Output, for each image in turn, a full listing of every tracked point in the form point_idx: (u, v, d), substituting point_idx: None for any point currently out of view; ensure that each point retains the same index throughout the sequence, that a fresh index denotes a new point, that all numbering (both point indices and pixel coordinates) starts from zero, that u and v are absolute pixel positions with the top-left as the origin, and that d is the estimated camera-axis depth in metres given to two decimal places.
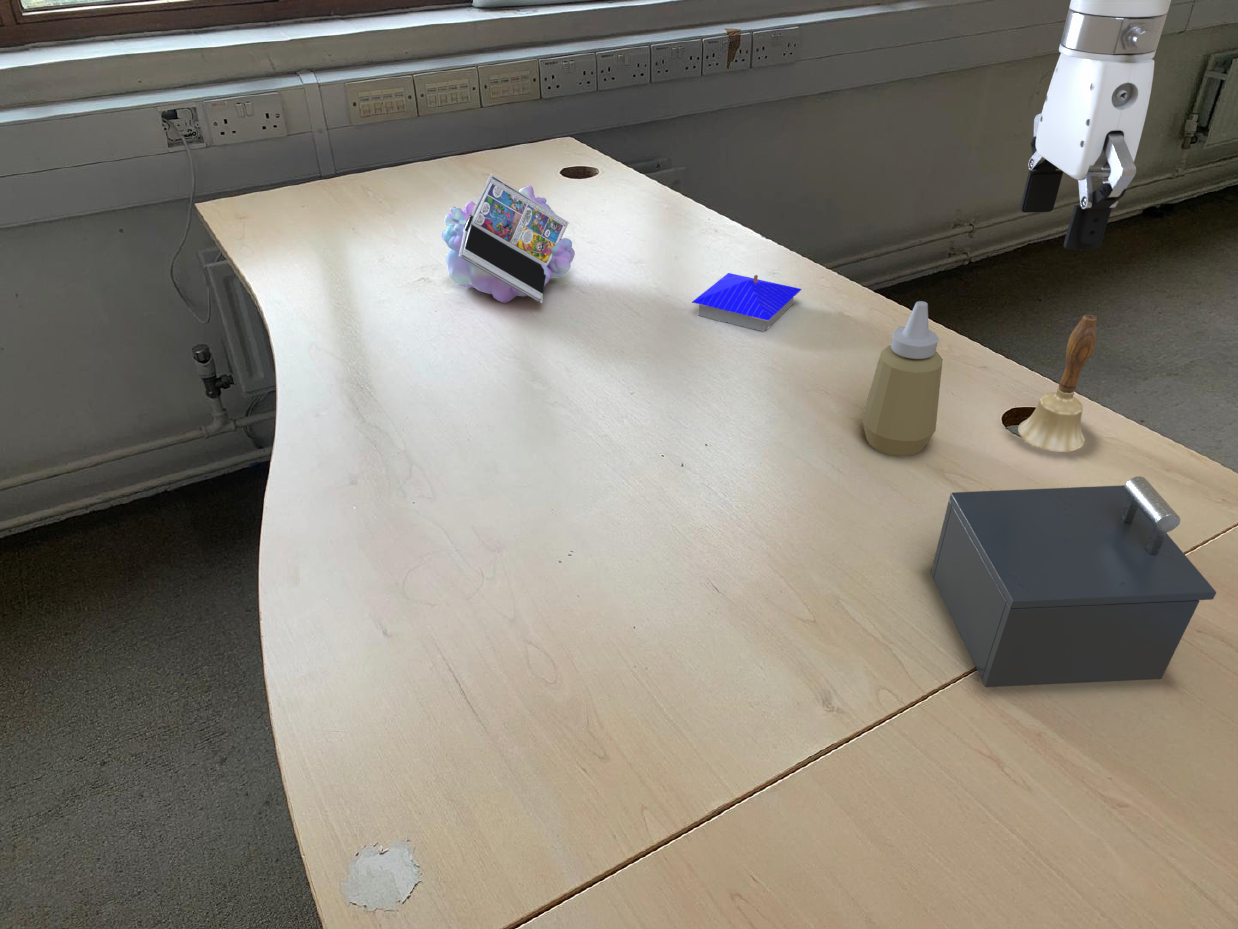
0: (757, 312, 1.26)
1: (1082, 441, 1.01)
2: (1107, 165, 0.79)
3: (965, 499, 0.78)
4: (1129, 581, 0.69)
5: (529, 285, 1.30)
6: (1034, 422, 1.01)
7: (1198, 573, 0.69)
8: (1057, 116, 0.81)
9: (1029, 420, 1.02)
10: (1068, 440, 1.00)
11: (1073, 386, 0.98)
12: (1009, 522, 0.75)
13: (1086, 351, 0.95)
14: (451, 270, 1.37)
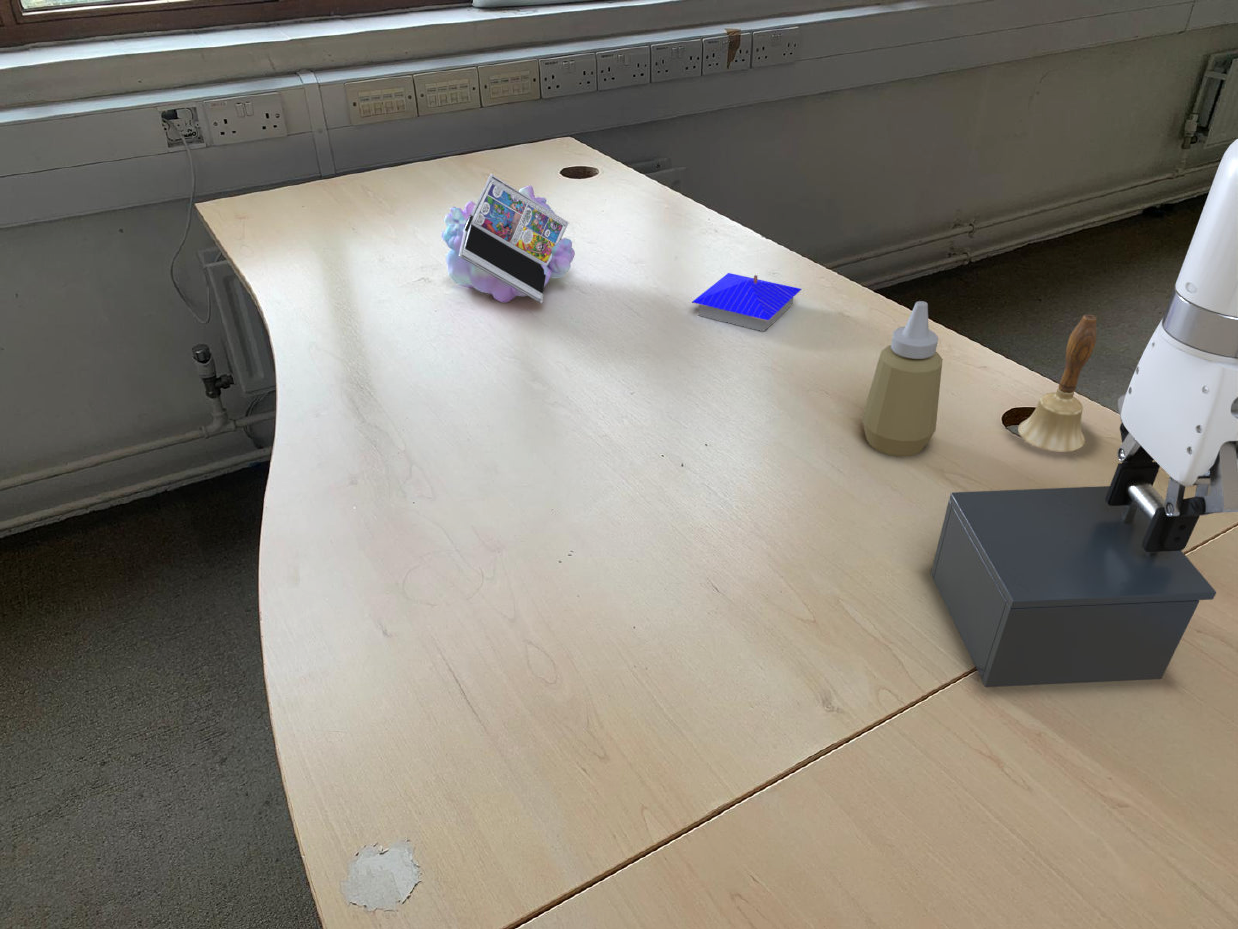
0: (757, 312, 1.26)
1: (1082, 441, 1.01)
2: None
3: (965, 499, 0.78)
4: (1129, 581, 0.69)
5: (529, 285, 1.30)
6: (1034, 422, 1.01)
7: (1198, 573, 0.69)
8: (1154, 401, 0.67)
9: (1029, 420, 1.02)
10: (1068, 440, 1.00)
11: (1073, 386, 0.98)
12: (1009, 522, 0.75)
13: (1086, 351, 0.95)
14: (451, 270, 1.37)
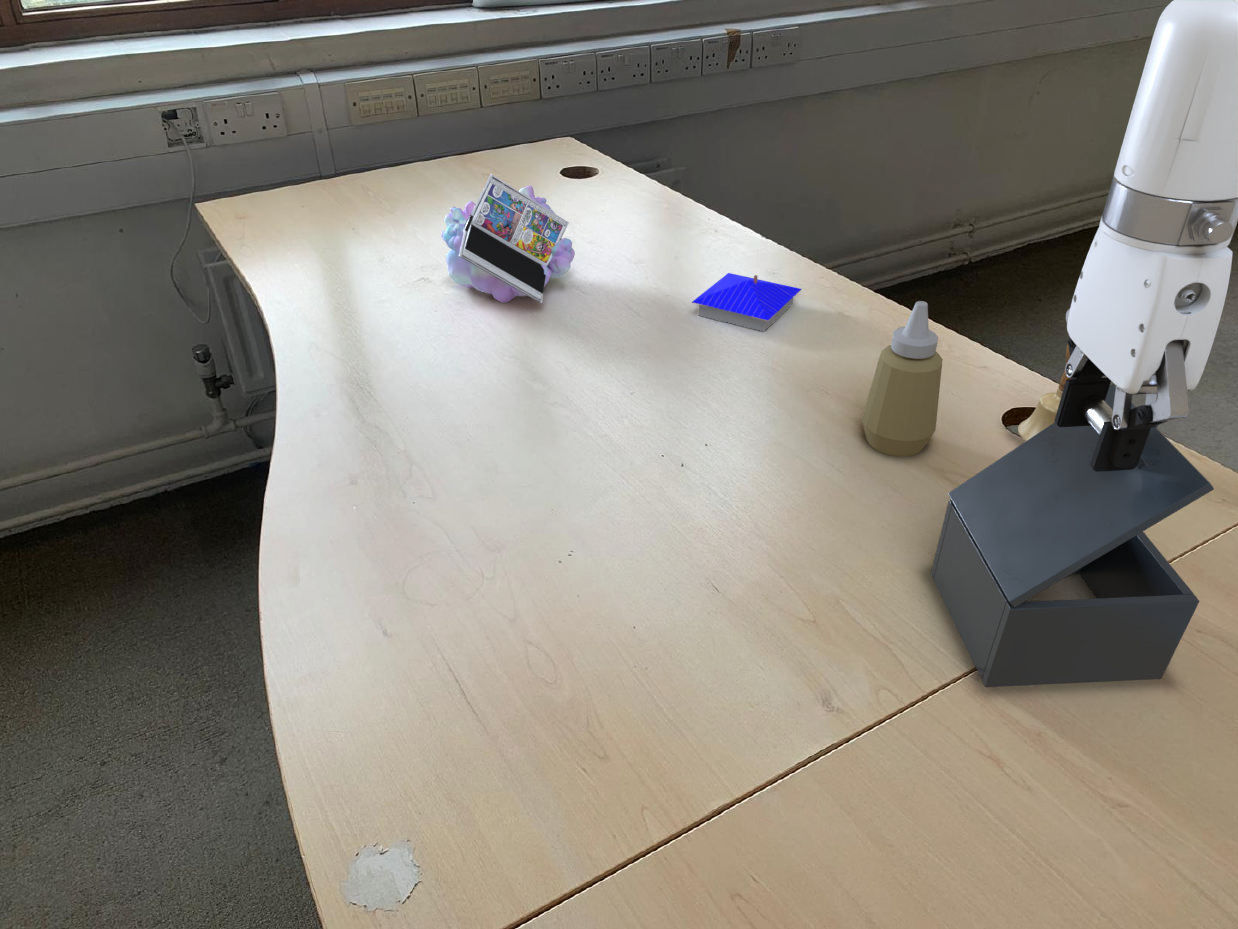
0: (757, 312, 1.26)
1: None
2: None
3: (960, 494, 0.77)
4: (1118, 516, 0.65)
5: (529, 285, 1.30)
6: (1034, 422, 1.01)
7: (1189, 466, 0.63)
8: (1097, 305, 0.62)
9: (1029, 420, 1.02)
10: None
11: None
12: (1001, 501, 0.74)
13: None
14: (451, 270, 1.37)
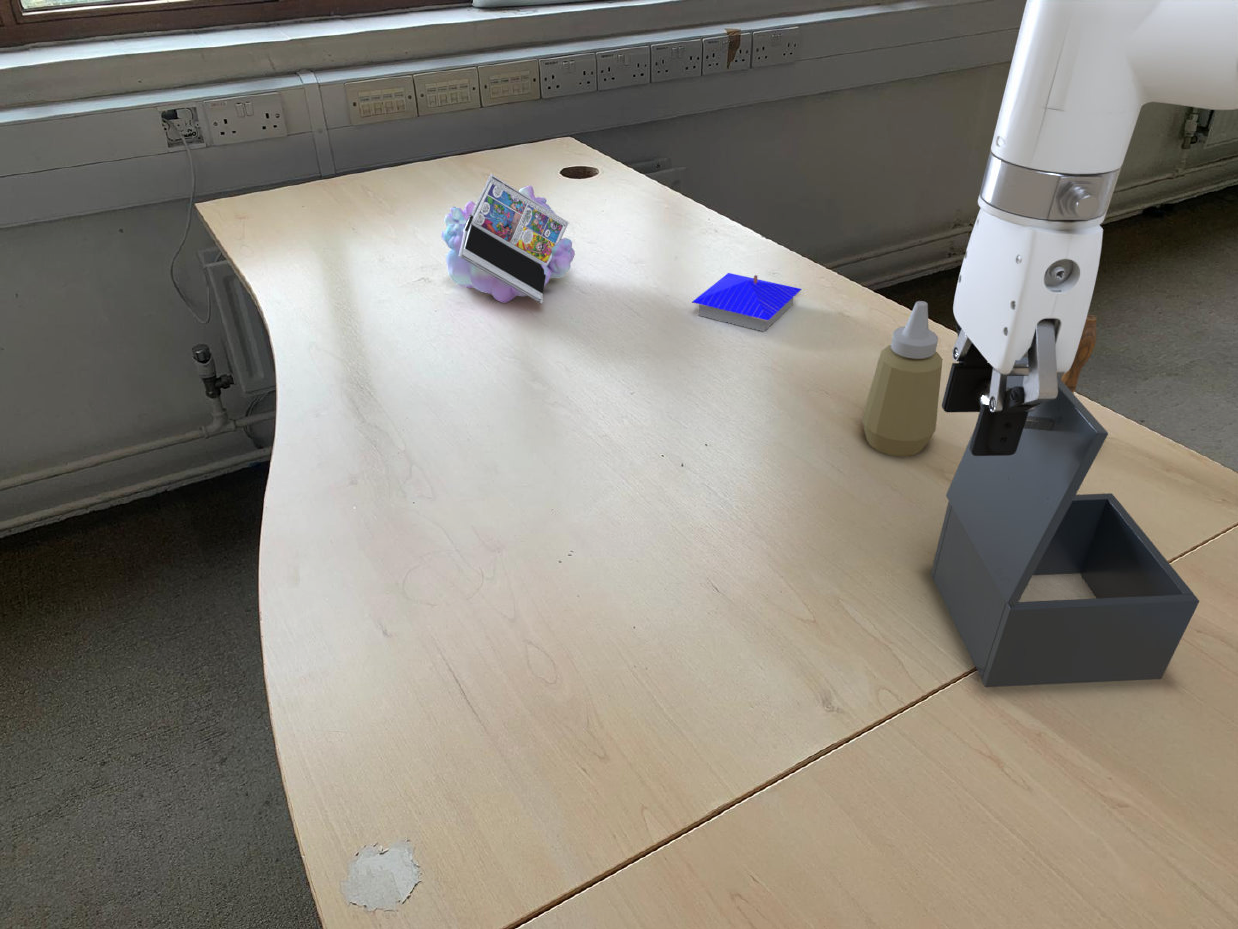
0: (757, 312, 1.26)
1: None
2: None
3: (953, 494, 0.77)
4: (1050, 489, 0.63)
5: (529, 285, 1.30)
6: None
7: (1081, 417, 0.60)
8: (977, 284, 0.60)
9: None
10: None
11: (1073, 386, 0.98)
12: (978, 494, 0.73)
13: (1086, 351, 0.95)
14: (451, 270, 1.37)
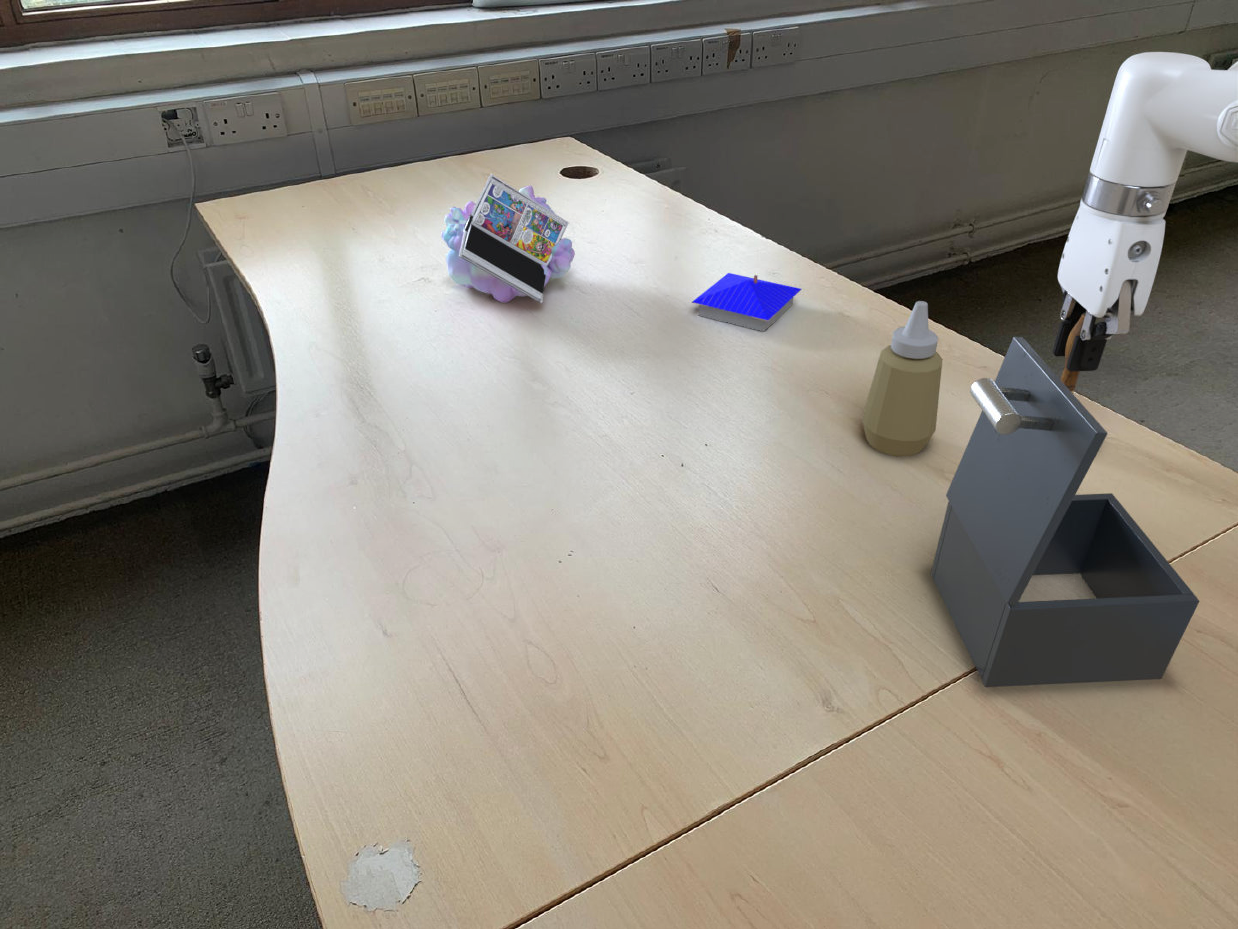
0: (757, 312, 1.26)
1: None
2: None
3: (953, 494, 0.77)
4: (1049, 489, 0.63)
5: (529, 285, 1.30)
6: None
7: (1080, 417, 0.60)
8: (1078, 259, 0.91)
9: None
10: None
11: (1073, 385, 0.98)
12: (977, 494, 0.73)
13: None
14: (451, 270, 1.37)
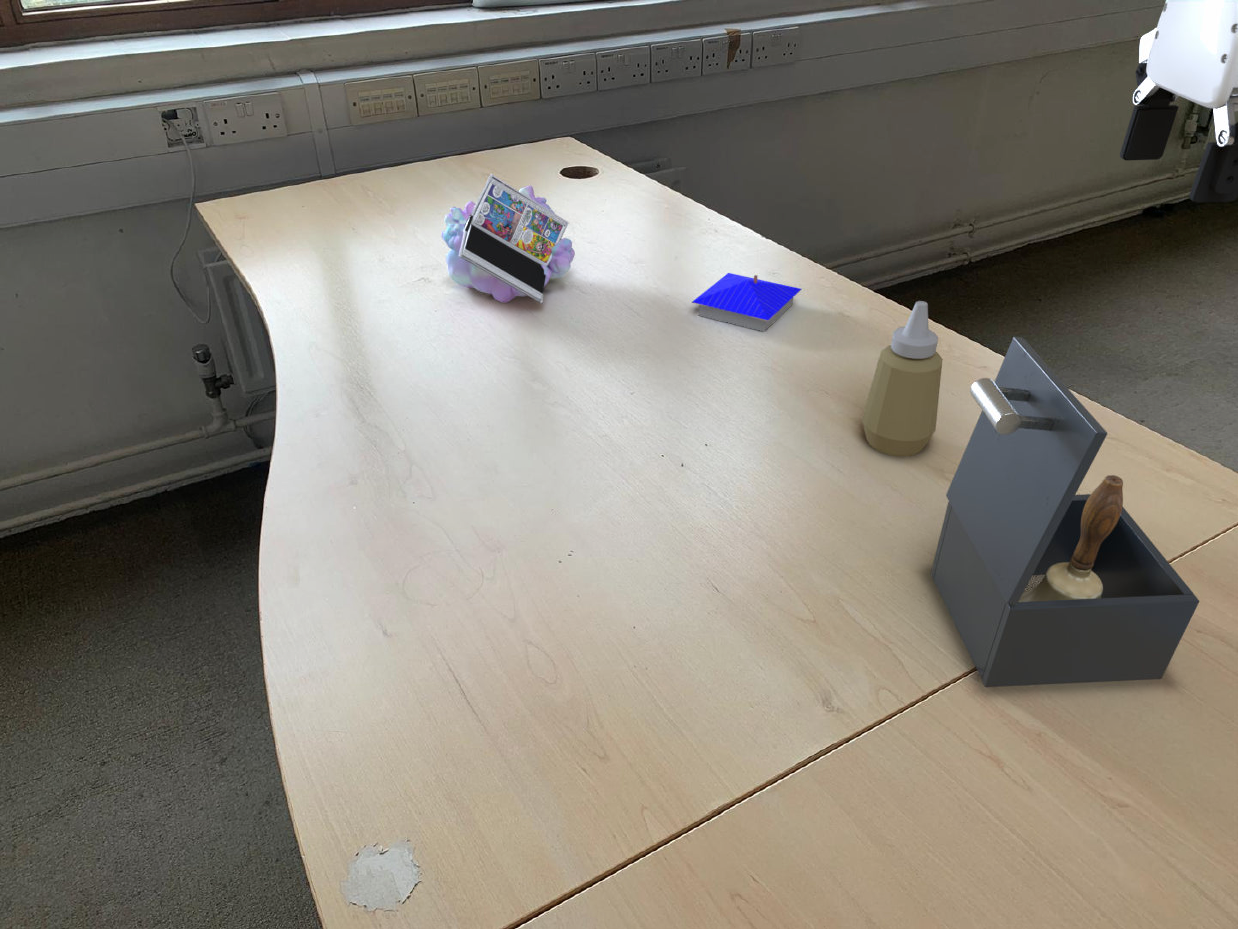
0: (757, 312, 1.26)
1: None
2: None
3: (953, 494, 0.77)
4: (1049, 489, 0.63)
5: (529, 285, 1.30)
6: None
7: (1080, 417, 0.60)
8: (1184, 27, 0.62)
9: (1032, 597, 0.78)
10: None
11: (1090, 563, 0.74)
12: (977, 494, 0.73)
13: (1109, 523, 0.70)
14: (451, 270, 1.37)
